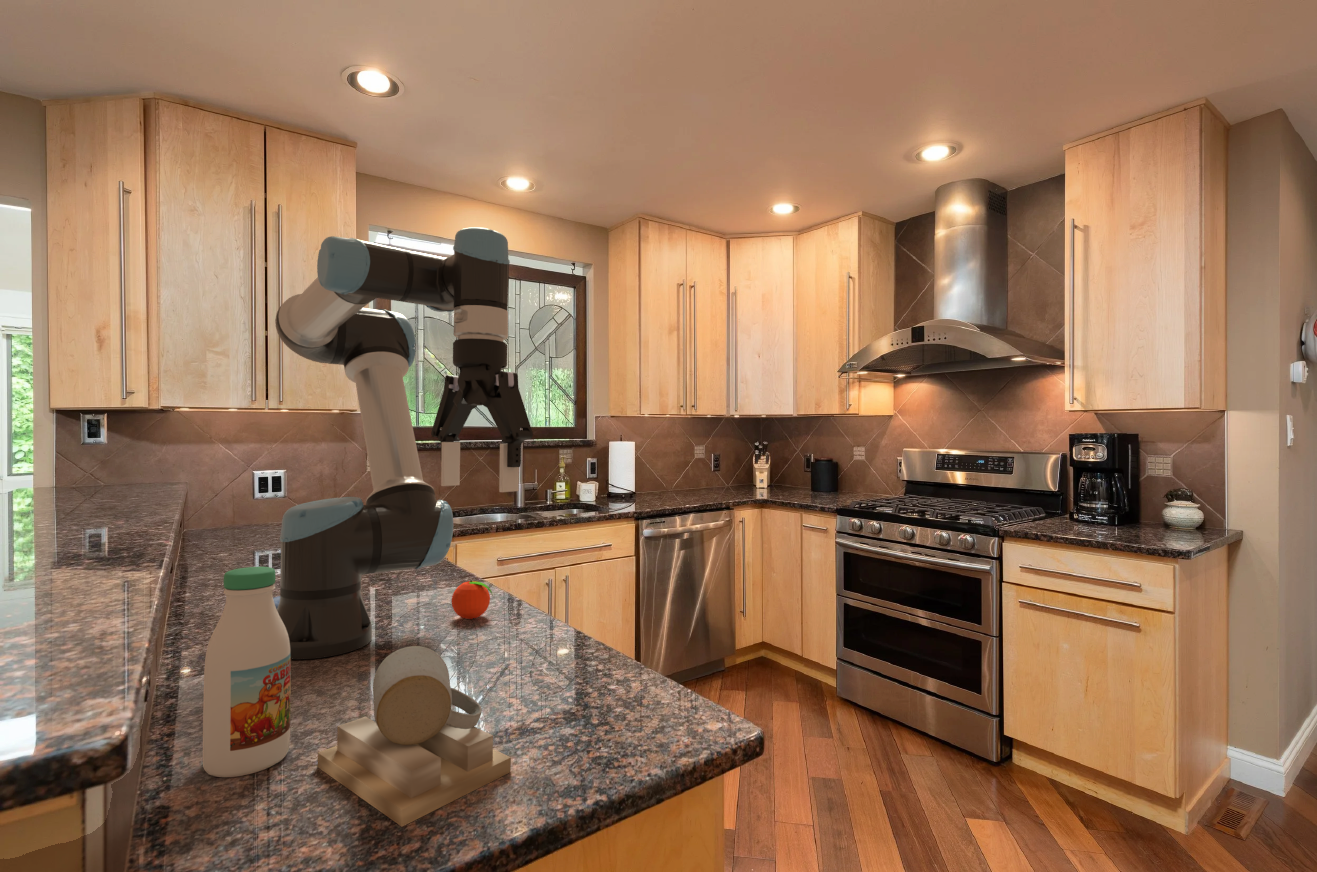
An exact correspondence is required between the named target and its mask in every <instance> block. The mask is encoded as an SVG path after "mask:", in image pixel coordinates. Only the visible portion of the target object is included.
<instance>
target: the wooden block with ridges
mask: <svg viewBox="0 0 1317 872" xmlns="http://www.w3.org/2000/svg"><path fill="white" fill-rule="evenodd" d="M336 737H337V739H336V741H337V742H336V745H335V746H332V747H329V748H327V749H323V750H321V751H318V752H317V768H318V769H319V770H321V771H322V772H323V773H325V774H327V775H328V776H329V777H331V778H332V779H333V780H335V781H336V782H338V783H339V784H341V785H342V786H343V787H345V788H346V789H348V790H349V791H351V792H352V793H353V794H354V795H356V796H358V797H359V798H360V799H362V800H363V801H364V802H366V803H367V804H369V805H370V806H371V807H373V808H374V809H376V810H377V811H379V812H380V813H381V814H383V815H385V816H386V817H387V818H389V819H390V820H391V821H393V822H395V823H396V824H397V825H398V826H400V827H401V828H402V827H405V826H407V825H408V824H410V823H412V822H415V821H417V820H419V819H420V818H423V817H424V816H426V815H429V814H430V813H432V812H434V811H436V810H438V809H440V808H443V807H444V806H446V805H449V804H450V803H452V802H455V800H458V799H460V798H462V797H464V796H466V795H468V794H470V793H472V792H473V791H476V790H478V789H480V788H482V787H484V786H486V785H488V784H490V783H492V782H494V781H496V780H498V779H499V778H501V777H503V776H506V775H508V774H509V773H511V772H512V768H511V767H512V765H511V763H512V756H511V757H510V756H509V755H507V754H504V753H503V752H500V751H499V750H497V749H495V748H494V734H491V733H489V732H487V731H484V730H482V729H480V728H478V727H476V726H474V727H473V728H470V729H460V728H454V727H451V726H448V725H444V726H443V727H442V729H441V730H440V731H439V732H438V733H437V734H436V735H434V736H433V737H432V738H430V739H428V740H427V741H424V742H422V743H419V744H414V745H401V744H396V743H394V742H392V741H390V740H389V739H387V738H386V737H385V736H384V735H383V734H382V733H381V732H380V730H379V728H378V726H377V724H376V721H374V720H372V719H371V718H369V717H367V716H363V717H360V718H357V719H354V720H351V721H349V722H346V723H343V724H339V725H337V735H336Z"/></svg>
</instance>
